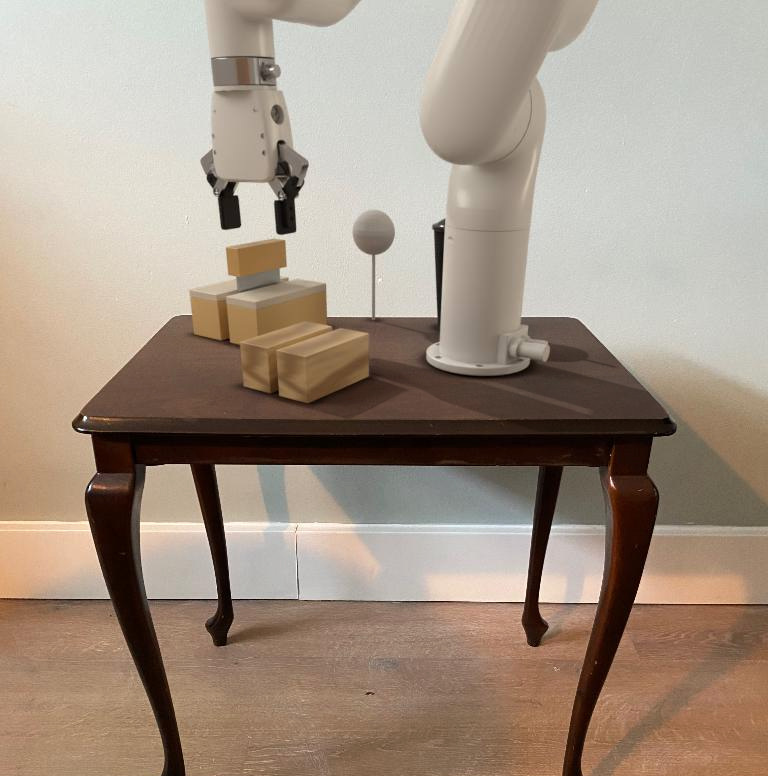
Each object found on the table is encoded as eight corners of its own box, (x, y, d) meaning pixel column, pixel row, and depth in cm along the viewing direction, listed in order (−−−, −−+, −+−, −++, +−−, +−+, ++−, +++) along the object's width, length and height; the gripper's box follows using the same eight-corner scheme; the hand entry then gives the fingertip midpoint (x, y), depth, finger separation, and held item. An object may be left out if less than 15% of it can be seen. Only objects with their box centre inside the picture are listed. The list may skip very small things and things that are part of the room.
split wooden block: (369, 376, 84) (369, 333, 82) (307, 403, 76) (305, 356, 74) (307, 362, 89) (305, 321, 86) (243, 386, 81) (239, 341, 78)
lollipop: (389, 326, 104) (390, 213, 96) (348, 323, 105) (347, 211, 97) (397, 315, 109) (399, 207, 102) (358, 313, 110) (358, 206, 103)
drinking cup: (485, 335, 100) (497, 175, 90) (429, 335, 100) (435, 174, 90) (479, 321, 106) (490, 170, 97) (426, 321, 106) (432, 170, 97)
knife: (290, 325, 104) (285, 239, 98) (245, 339, 97) (237, 248, 92) (278, 322, 105) (273, 238, 99) (233, 336, 98) (225, 246, 93)
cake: (327, 326, 103) (326, 283, 100) (259, 349, 93) (255, 301, 90) (264, 314, 109) (261, 272, 106) (194, 334, 99) (188, 289, 96)
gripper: (321, 75, 85) (328, 232, 93) (216, 81, 94) (231, 224, 102) (278, 73, 80) (289, 239, 88) (170, 79, 88) (190, 230, 96)
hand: (258, 231), depth 95 cm, fingers open, 9 cm apart
